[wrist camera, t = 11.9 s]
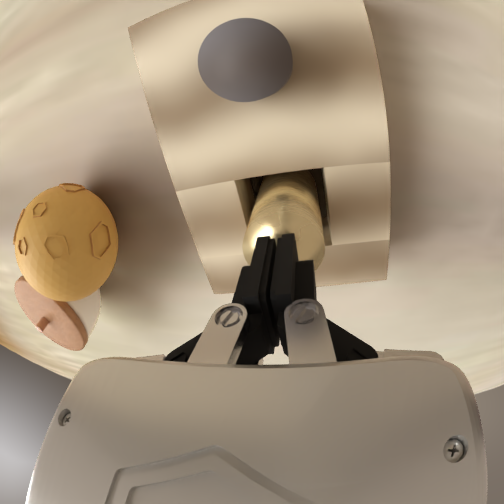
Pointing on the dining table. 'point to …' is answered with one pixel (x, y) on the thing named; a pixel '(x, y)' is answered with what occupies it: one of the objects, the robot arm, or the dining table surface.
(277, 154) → the jig
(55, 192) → the stress ball
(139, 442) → the robot arm
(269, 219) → the brass cylinder
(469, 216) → the dining table surface
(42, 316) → the lidded jar
